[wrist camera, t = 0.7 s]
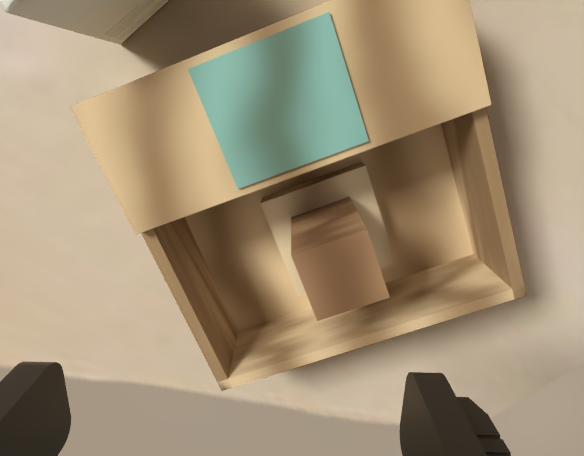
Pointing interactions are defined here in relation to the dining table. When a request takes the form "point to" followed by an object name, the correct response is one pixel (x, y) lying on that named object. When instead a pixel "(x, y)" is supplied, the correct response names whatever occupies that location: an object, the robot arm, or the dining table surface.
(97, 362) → the dining table surface
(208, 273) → the crate
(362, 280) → the block
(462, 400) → the robot arm
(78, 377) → the dining table surface
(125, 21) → the supplement box
